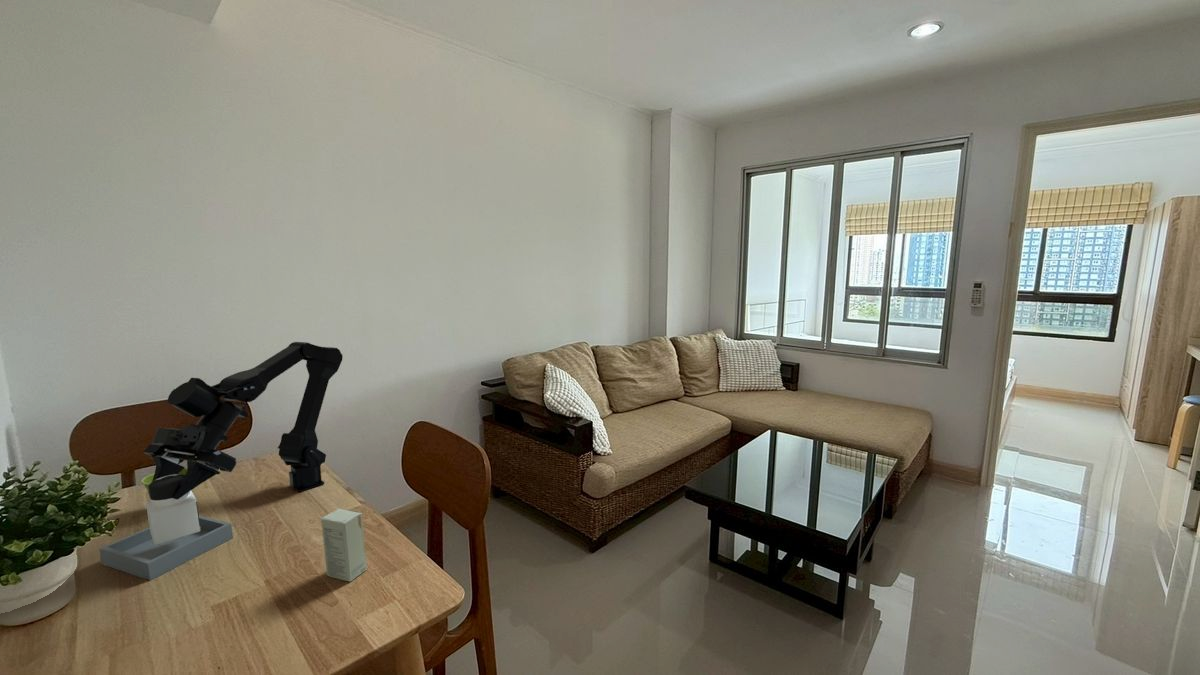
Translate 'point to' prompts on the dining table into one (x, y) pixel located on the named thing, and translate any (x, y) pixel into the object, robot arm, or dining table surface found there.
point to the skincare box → (344, 544)
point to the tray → (163, 549)
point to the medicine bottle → (171, 510)
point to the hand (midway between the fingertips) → (162, 496)
